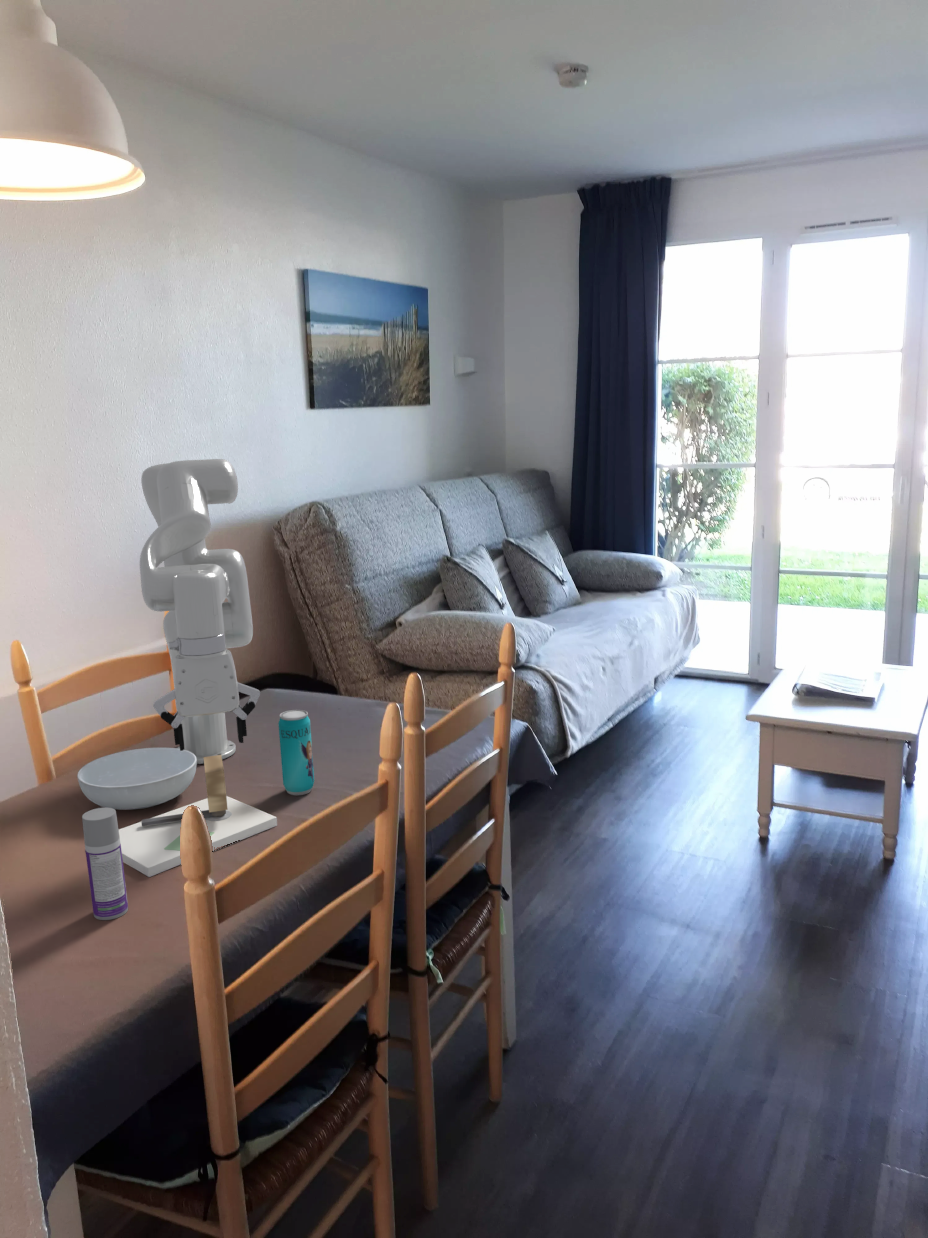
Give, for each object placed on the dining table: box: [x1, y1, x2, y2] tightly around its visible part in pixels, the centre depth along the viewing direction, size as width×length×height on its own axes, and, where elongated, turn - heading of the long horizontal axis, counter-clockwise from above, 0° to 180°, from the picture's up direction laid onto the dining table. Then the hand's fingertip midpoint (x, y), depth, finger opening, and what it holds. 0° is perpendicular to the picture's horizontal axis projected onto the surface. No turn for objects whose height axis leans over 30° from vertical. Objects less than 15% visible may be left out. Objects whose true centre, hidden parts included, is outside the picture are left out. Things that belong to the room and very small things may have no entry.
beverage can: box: [277, 709, 315, 796], centre depth 178 cm, size 6×6×15 cm
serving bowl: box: [76, 747, 198, 811], centre depth 177 cm, size 21×21×7 cm
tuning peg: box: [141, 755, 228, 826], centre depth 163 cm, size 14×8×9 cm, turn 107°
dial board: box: [118, 795, 278, 878], centre depth 162 cm, size 18×24×2 cm
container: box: [81, 807, 129, 921], centre depth 136 cm, size 5×5×15 cm
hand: (211, 744), depth 163 cm, fingers open, 9 cm apart
